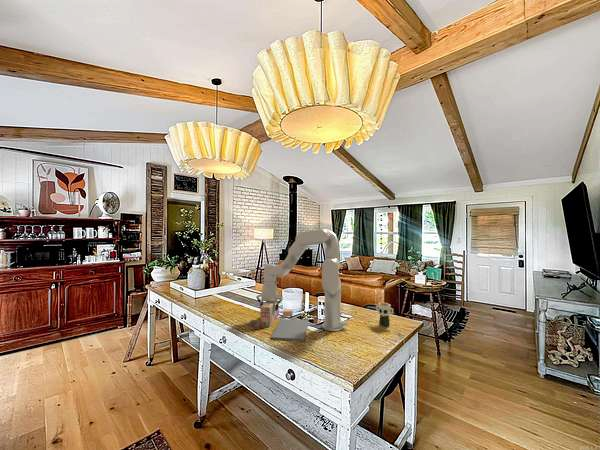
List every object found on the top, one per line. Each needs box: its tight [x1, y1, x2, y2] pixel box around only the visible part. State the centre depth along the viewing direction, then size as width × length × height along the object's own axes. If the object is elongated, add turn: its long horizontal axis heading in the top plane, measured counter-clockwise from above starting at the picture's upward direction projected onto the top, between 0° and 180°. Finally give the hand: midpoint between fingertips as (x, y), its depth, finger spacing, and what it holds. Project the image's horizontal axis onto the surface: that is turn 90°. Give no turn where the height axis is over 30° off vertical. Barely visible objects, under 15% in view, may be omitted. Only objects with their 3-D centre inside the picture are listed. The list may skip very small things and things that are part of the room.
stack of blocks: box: [259, 301, 280, 328], centre depth 169 cm, size 21×6×12 cm, turn 170°
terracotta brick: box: [282, 309, 293, 318], centre depth 178 cm, size 6×4×4 cm, turn 101°
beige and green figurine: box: [375, 302, 394, 327], centre depth 163 cm, size 11×7×13 cm, turn 54°
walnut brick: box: [248, 319, 262, 330], centre depth 157 cm, size 6×4×4 cm, turn 78°
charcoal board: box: [270, 318, 310, 342], centre depth 154 cm, size 18×28×1 cm, turn 174°
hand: (269, 309), depth 169 cm, fingers open, 9 cm apart
